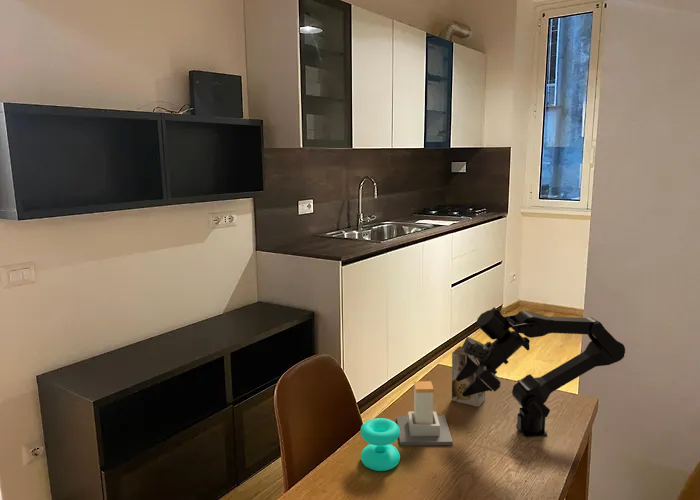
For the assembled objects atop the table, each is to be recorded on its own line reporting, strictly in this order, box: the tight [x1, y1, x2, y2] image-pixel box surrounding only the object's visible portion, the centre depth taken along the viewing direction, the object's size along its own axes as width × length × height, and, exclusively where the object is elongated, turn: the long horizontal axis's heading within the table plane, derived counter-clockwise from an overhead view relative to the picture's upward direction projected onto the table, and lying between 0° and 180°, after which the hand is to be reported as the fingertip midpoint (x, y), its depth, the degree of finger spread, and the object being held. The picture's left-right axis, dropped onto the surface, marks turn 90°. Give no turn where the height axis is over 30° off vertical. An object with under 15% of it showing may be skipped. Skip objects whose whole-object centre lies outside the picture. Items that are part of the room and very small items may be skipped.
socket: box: [396, 410, 454, 446], centre depth 152 cm, size 14×14×4 cm
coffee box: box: [451, 345, 486, 408], centre depth 169 cm, size 9×6×16 cm
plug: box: [413, 380, 435, 424], centre depth 151 cm, size 5×5×13 cm
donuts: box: [359, 417, 401, 472], centre depth 138 cm, size 10×10×10 cm
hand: (459, 387), depth 149 cm, fingers open, 9 cm apart
